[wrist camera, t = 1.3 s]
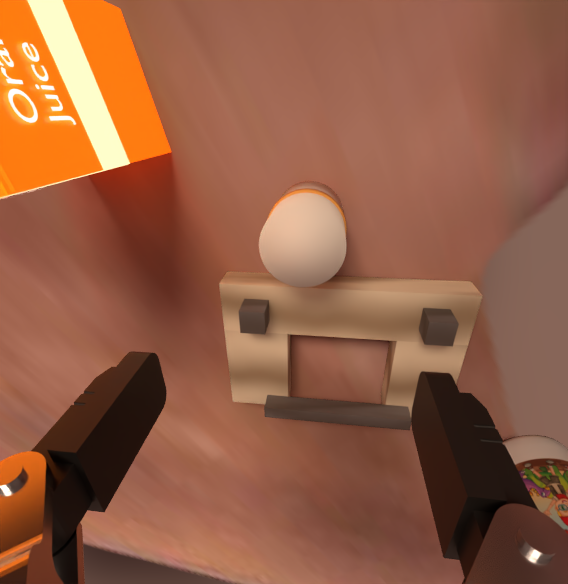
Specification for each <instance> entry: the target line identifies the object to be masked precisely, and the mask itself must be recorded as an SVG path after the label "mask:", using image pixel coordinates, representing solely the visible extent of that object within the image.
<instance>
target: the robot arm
mask: <svg viewBox="0 0 568 584" xmlns="http://www.w3.org/2000/svg"><path fill="white" fill-rule="evenodd" d="M165 401H166V386H165V382H164V378H163V374H162V370H161V366H160V362H159V359H158V356H157V355H156V354H155V353H147V352H129V353H128V354H127V355H126V356H125V357H124V358H123V359H122V361H121V362H120V363H119V364H118V365H117V367H111V368H109V369H108V370H107V371H105V372H104V373H102V374H101V375H99V376H98V377H96V378H95V379H94V380H93V382H92V383H91V384H90V385H89V386H88V387H87V388H86V389H85V391H84V394H81V395H80V396H79V397H78V399H77V400H76V401H75V402H74V405H71V406H70V408H69V409H68V410H67V411H66V412H65V413H64V414H63V416H62V417H61V418H60V419H59V420H58V421H57V422H56V424H55V425H54V426H53V427H52V428H51V429H50V430H49V431H48V433H47V434H46V435H45V436H44V437H43V438H42V439H41V441H40V442H39V443H38V444H37V445H36V446H35V447H34V448H33V449H32V450H31V451H30V452H22V453H18V454H15V455H13V456H10V457H8V458H6V459H4V460H2V461H1V462H0V584H85V581H84V580H85V579H84V558H83V535H82V525H81V523H80V521H81V520H82V518H83V517H84V515H85V513H86V512H87V510H90V511H98V512H105V510H106V508H107V506H108V505H109V503H110V501H111V499H112V498H113V496H114V494H115V492H116V491H117V489H118V487H119V485H120V483H121V482H122V480H123V478H124V476H125V475H126V473H127V471H128V469H129V468H130V466H131V464H132V462H133V461H134V459H135V457H136V455H137V454H138V452H139V450H140V448H141V446H142V445H143V443H144V441H145V439H146V438H147V436H148V434H149V432H150V431H151V429H152V427H153V425H154V424H155V422H156V420H157V418H158V416H159V415H160V413H161V411H162V409H163V407H164V405H165ZM411 422H412V430H413V435H414V439H415V443H416V447H417V451H418V455H419V459H420V463H421V467H422V471H423V476H424V480H425V484H426V488H427V492H428V496H429V500H430V504H431V508H432V512H433V516H434V520H435V524H436V528H437V533H438V537H439V541H440V545H441V549H442V553H443V557H444V558H449V559H457V560H460V563H461V566H462V570H463V574H464V577H465V578H464V580H463V582H462V584H568V534H567V533H566V531H565V530H564V529H563V528H562V527H561V526H560V525H559V524H558V523H556V522H555V521H554V520H553V519H551V518H550V517H549V516H547V515H546V514H544V513H542V512H540V511H539V510H538V508H537V506H536V505H535V503H534V501H533V499H532V497H531V495H530V493H529V491H528V489H527V487H526V485H525V483H524V481H523V479H522V477H521V475H520V474H519V472H518V470H517V468H516V466H515V464H514V462H513V460H512V458H511V456H510V454H509V452H508V450H507V448H506V446H505V444H503V440H502V438H501V436H500V434H499V432H498V430H497V429H495V425H494V423H493V421H492V419H491V417H490V415H489V413H488V411H487V409H486V408H485V407H484V406H483V405H482V404H481V403H480V402H479V401H478V400H477V399H476V398H475V397H474V396H473V395H472V394H471V393H459V390H458V388H457V386H456V384H455V381H454V379H453V377H452V375H451V374H450V373H441V372H426V371H422V372H421V373H420V375H419V379H418V383H417V388H416V392H415V397H414V402H413V406H412V413H411Z"/></svg>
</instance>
